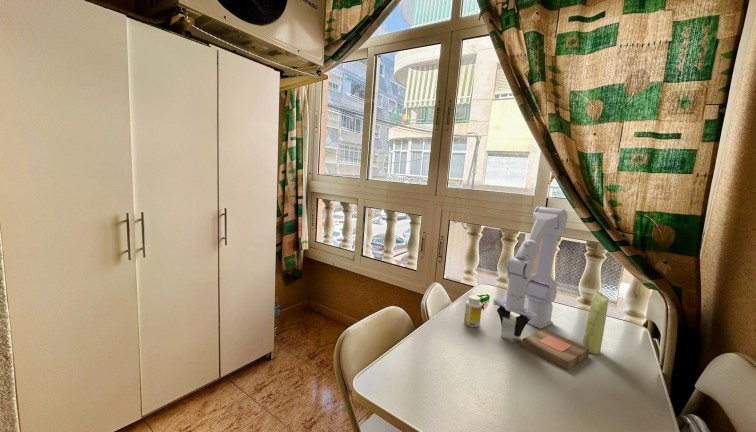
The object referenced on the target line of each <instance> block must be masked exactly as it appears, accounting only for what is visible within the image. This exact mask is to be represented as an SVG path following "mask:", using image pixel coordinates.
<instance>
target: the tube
mask: <svg viewBox="0 0 756 432" xmlns="http://www.w3.org/2000/svg"><path fill="white" fill-rule="evenodd" d="M609 299H610V298H609V297H608V296H606V295H605V294H603V293H602V292H600V291H599V290H597V288H595V289H594V292H593V296H592V299H591V303H590V308H589V312H588V315H587V320H586V325H585V329H584V335H583V340H582V344H581V345H582V346H584V347H586V348H588V349H589V353H590V354H595V355H598V354H600V353H601V351H602V350H601V349H602V348H601V347H602V344H603V340H604V339H603V337H604V332H605V325H606V322H607V321H606V320H607V312H608V308H609V307H608V306H609Z"/></svg>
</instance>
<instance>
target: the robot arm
mask: <svg viewBox="0 0 756 432" xmlns="http://www.w3.org/2000/svg"><path fill="white" fill-rule="evenodd" d="M532 220H533V226H532V229H531V231H530V233H529V236H528V238H527V240H526V239H525V240H524V241H522V243H521V244H520V246H519V248H518V250H517V252H516V253H515V255H514V257H512V258H510V259H509V260H508V262H507V266H506V272H507V276H506V277H507V279H508V280H507V282H508V283H507V291H506V297H505V300H503V299H501V298H495V299H493V305H494V306H498V308H497V309H496V312H497V314H498V316H499V319H500V324H501V325H500V327H502V322H503V317H504V316H507V315H510V314H511V312H513V314H514V313H515V314H516V315H518V316H516V337H519V336H522V333H523V331H524V329H525V327H526V325H527V324H529V325H531V326H534V327H536V328H538V329H541V330H542V329H544V328H545V327H548V326H550V325H552V324H553V323H554V322H553V321H552V316H553V315H552V313H553V302H554V301H555V299H556V298H557V292H558V291H557V287H558V284H557V282H556V281H555V280H554V279H553V277H552V276H551V273H552V268H553V264H554V258H555V254H556V249H557V244H558V241H559V240H558V238H559V236H560V234H561V233H565V229H566V227H567V223H568V212H567V210H566V209H565V208H554V207H546V206H540V205H538V206H536V207H535V208H534V211H533V213H532ZM540 243H541V246H539V244H540ZM538 254H539V255H538ZM537 256H538V260H537V264H536V270H535V273H533V270H534V266H535V260H536V259H537ZM526 298H527V304H526V307H525V303H526Z"/></svg>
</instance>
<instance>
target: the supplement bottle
mask: <svg viewBox="0 0 756 432" xmlns="http://www.w3.org/2000/svg"><path fill="white" fill-rule="evenodd" d="M482 308H483V304H482V302H481V297H480V296H478V295H473V294H471V295H469V296H468V300H467V301H465V307H464V309H465V310H464V318H463V319H464V320H463V323H464V324H465V325H466V326H468V327H472V328H477V327H479V326H480V325H481V317H482Z"/></svg>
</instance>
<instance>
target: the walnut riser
mask: <svg viewBox="0 0 756 432" xmlns="http://www.w3.org/2000/svg"><path fill="white" fill-rule="evenodd" d="M520 347H521V348H523V349H525V350H527V351H528V352H531V353H533V354H535V355H537V356H539V357H541V358H543V359H545V360H547V361H549V362H551V363H552V364H554V365H556V366H559V367H560V368H562V369H565V370H566V371H567V370H569V369H571V368H573V367H574V366H575V365H577V364H579V363H580V362H581V361H583V360H584V359H586V358H587V357H589V353H590V352H589V349H588V348H586V347H584V346H582V344H579V343H577V342H575V341H572V340H570V339H568V338H566V337H564V336H561V335H559V334H556V333H554V332H551V330H550V331H549V330H547V329H545V328H542V329H541V330H539V331H537V332H535V333H532V334H530V335H528V336H526V337H524V338H522V339H521V346H520Z"/></svg>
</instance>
